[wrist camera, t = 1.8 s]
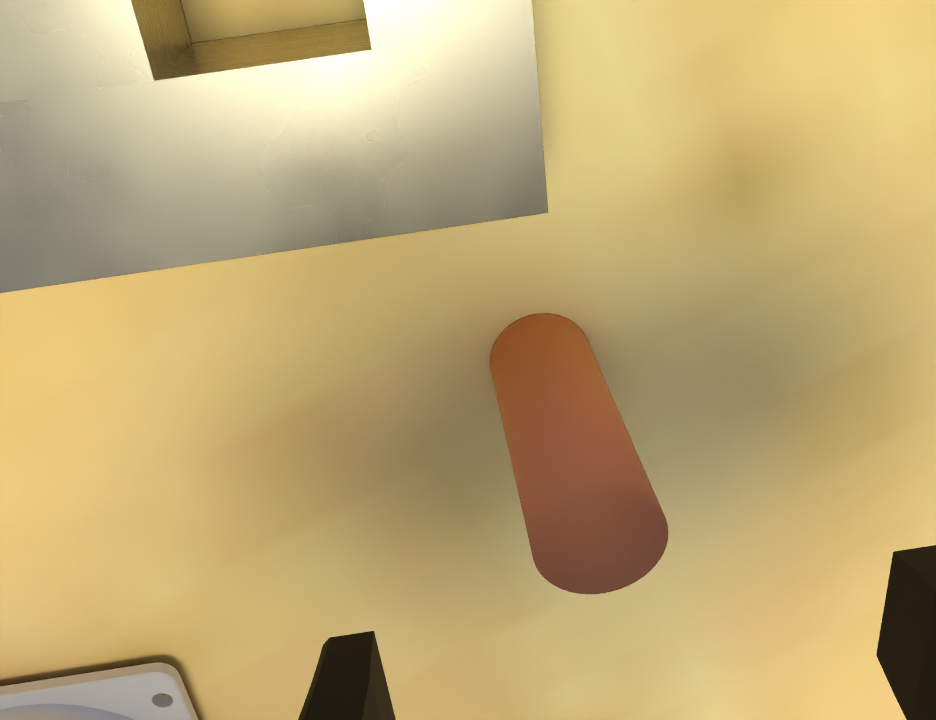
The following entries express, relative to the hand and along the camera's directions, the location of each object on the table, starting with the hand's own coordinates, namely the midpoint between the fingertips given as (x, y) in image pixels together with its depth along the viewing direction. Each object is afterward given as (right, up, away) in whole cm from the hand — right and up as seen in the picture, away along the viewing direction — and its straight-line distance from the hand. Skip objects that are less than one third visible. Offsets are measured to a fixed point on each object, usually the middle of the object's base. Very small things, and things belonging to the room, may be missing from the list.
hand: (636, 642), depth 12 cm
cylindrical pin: (-1, +4, +7) cm, 8 cm away
